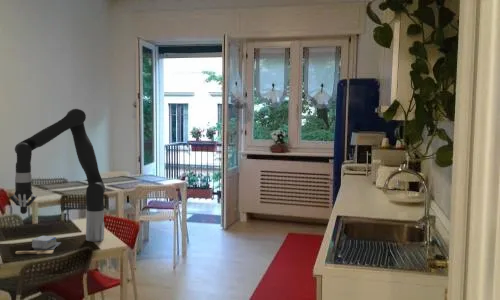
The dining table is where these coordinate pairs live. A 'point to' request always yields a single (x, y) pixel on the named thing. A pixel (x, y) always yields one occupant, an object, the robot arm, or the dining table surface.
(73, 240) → the dining table surface
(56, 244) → the rubber mat
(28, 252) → the wooden turner
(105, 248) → the dining table surface
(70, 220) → the dining table surface
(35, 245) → the medicine box
